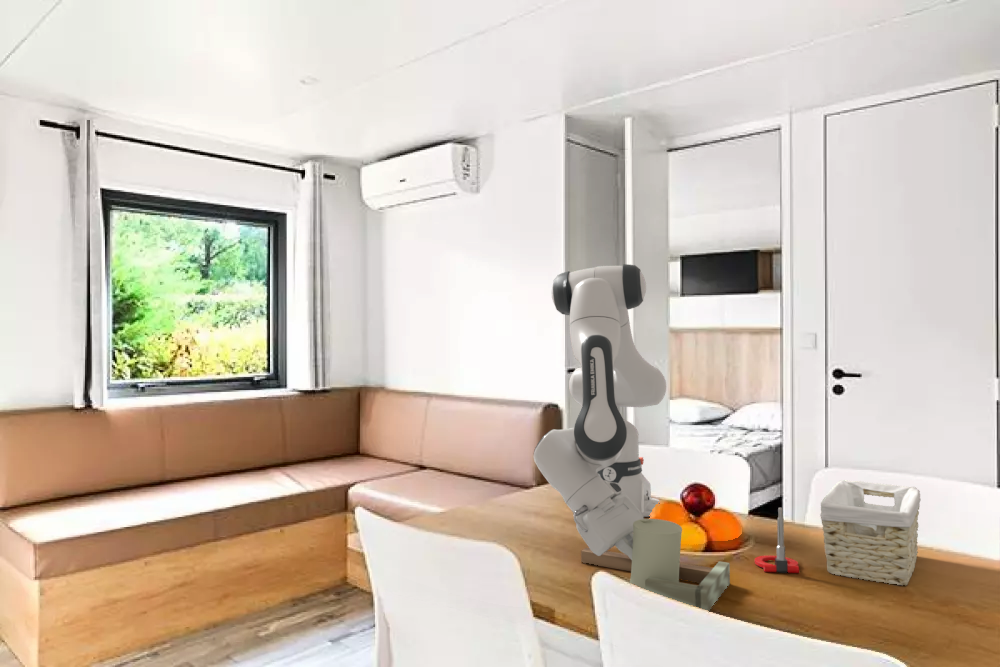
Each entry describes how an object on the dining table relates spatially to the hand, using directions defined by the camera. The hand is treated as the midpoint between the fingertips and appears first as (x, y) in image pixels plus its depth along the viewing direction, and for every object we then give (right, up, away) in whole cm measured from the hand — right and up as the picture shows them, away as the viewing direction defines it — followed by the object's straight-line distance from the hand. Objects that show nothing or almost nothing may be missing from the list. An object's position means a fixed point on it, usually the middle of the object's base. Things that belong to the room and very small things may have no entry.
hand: (639, 558), depth 138 cm
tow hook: (+30, -5, +9) cm, 32 cm away
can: (+2, -5, -2) cm, 6 cm away
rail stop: (0, -5, 0) cm, 5 cm away
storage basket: (+49, -4, +9) cm, 50 cm away
